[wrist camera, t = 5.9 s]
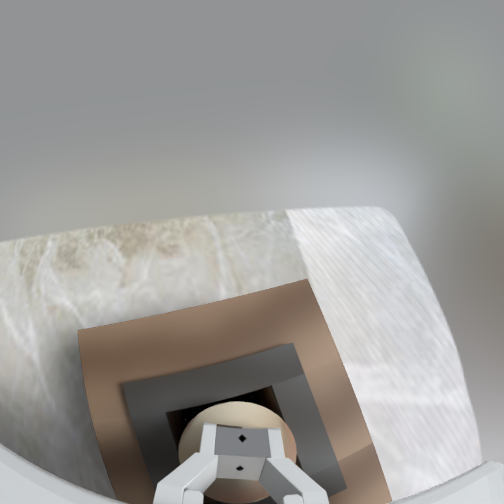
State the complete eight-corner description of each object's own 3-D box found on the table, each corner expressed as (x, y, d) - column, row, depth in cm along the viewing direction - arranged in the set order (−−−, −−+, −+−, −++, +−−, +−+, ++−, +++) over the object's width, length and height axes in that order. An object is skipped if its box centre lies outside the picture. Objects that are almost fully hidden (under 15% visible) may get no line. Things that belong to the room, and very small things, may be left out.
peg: (275, 457, 16) (310, 481, 9) (206, 476, 14) (200, 514, 8) (253, 396, 18) (275, 387, 11) (184, 413, 17) (164, 415, 10)
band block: (341, 484, 16) (399, 507, 9) (176, 532, 12) (158, 582, 5) (280, 320, 24) (310, 274, 16) (119, 358, 20) (73, 326, 13)
